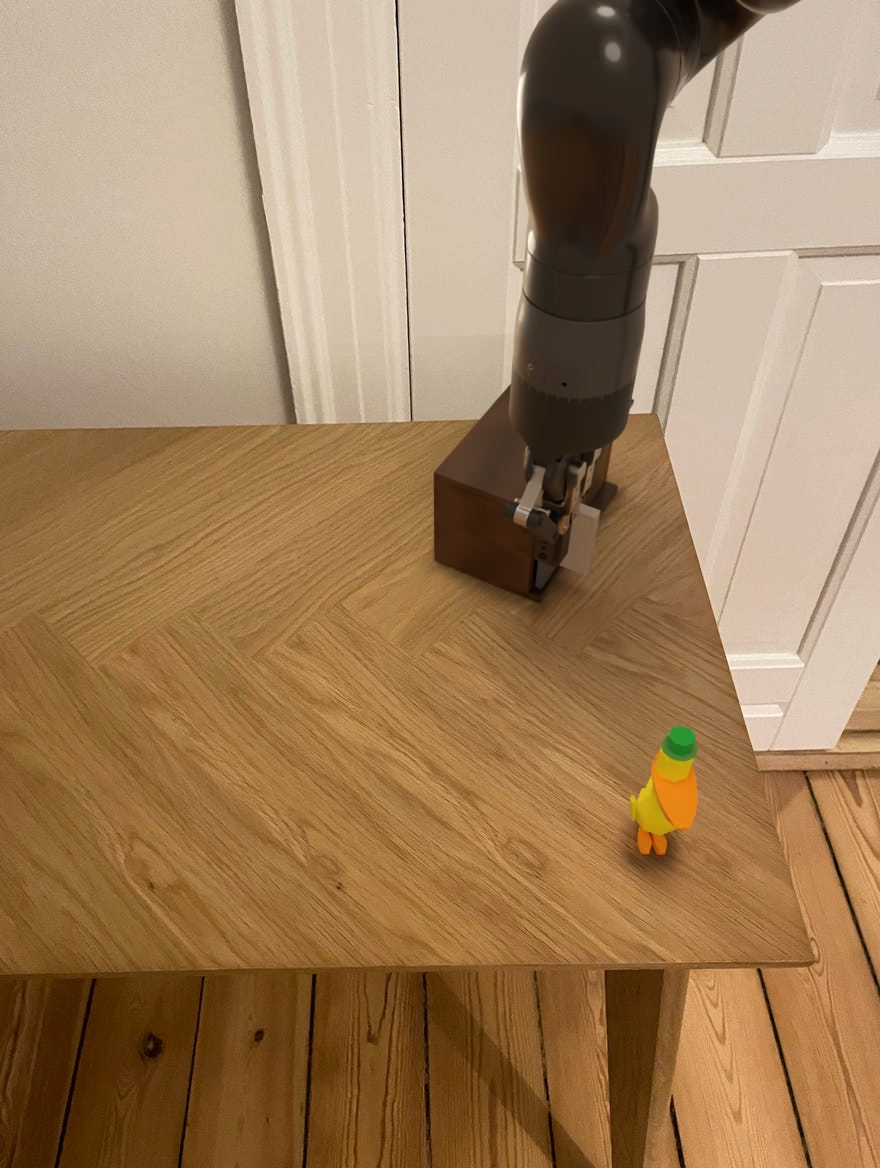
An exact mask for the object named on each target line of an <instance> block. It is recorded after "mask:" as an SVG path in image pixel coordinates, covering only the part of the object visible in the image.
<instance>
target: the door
mask: <svg viewBox="0 0 880 1168" xmlns="http://www.w3.org/2000/svg"><path fill="white" fill-rule="evenodd" d="M584 504H585V499H583V498H581V502H580V507H579V514H578V516H577V517H576V518H575V519H574V520H572V527H571V534H570V541H569V548H568V553H567V555H566V556H565V558H564V559H563V561H562V562H561V564H560V566H562V567H565V568H564V569H567V570H570V571H571V572H572V571H573V572H575V573H578V574H579V575H582V576H585V577H586V576H588V574H589V572H590V571H591V569H592V563H593V558H594V551H595V546H596V539H597V535H598V534H597V533H598V528H599V523H600V517H601V515H600V510H598V509H595V508H592V507H589V506H587V505H584ZM555 569H556V567H552V566H549V565H547V564H544V563H542V562H539V561H538V565H537V574H536V583H535V587H537V588H540V589H542V587H543V586H544V584H545V583H546V582H547V580H548V579H549V577H550V576H551V574H552V573H553V571H554V570H555Z"/></svg>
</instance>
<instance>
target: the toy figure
mask: <svg viewBox="0 0 880 1168" xmlns="http://www.w3.org/2000/svg"><path fill="white" fill-rule="evenodd" d="M696 737H697V735H696V733H694V731H693V730H692V729H691V728H690V727H686V726H684V725H677V726H674V727H671V728H670V731H669V734H667V735H666V736H664V737H663V739H662V740H661V743H660V745H661V747H660V749H659V751H657V752H656V755H655V757H654V760H653V763H652V765H651V767H650V777H649V780H648V781H647V784H646V786H645V787H643V788H641V789H640V792H639V795H638V797H637V798H636V796H635V795H633V794H632V795H630V796H629V801H628V805H629V813H630V817H631V820H632V822H633V824H634V822H635V820H636V822H637V824H638V825H639V827H638V829H637V840H636V844H637V849H638V850H639V852H640V855H649V854H650V852H651V849H652V848H653V850H654V852H655V853H656V855H657V856H661V855H662V856H663V855H664V856H665V854H666V853H667V852H666V851H667V845H668V840H667V838H666V836H665V834H667V833H670V832H673V831H675V830H678V831H680V832H685V831H687V830H690V829H691V827H692V824H693V822H694V820H695V818H696V815H697V810H698V804H699V797H698V795H699V794H698V782H697V777H696V773H695V768H694V766H693V763H694V760H695V757H696V756H697V754H698V751H699V747H698V744H697V742H696V741H695V740H696ZM650 833H651V834H650Z"/></svg>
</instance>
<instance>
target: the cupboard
mask: <svg viewBox="0 0 880 1168" xmlns="http://www.w3.org/2000/svg"><path fill="white" fill-rule="evenodd" d="M510 388H511V383H509V385H508V386H507V387H506V388H505V390H504V391H502V393H501V394H500V395H499V396H498V397H497V399H496V400H495V401H494V402H493V403H492V404H491V406H489V408H488V409H487V410H486V411H485V412H484V414H483V415H482V416H481V417H480V418H479V419H478V420H477V422H476V423H475V424H474V425H473V426H472V427H471V428H470V430H469V431H467V433H465V435H464V437H463V438H462V439H461V440H460V441H459V442H458V444H457V445H456V446H455V447H454V448H453V449H452V450H451V452H450V453H449V454H448V455H447V456H446V457H445V459H444V460H443V461H442V462H441V463H440V464H439V465H438V466H437V468H436V469H435V470H434V471H433V557H434V558H433V559H434V561H435V562H438V563H439V564H443V565H445V566H448V567H450V568H452V569H454V570H458V571H459V572H461V573H465V574H467V575H469V576H472V577H474V578H476V579H479V580H481V581H484V582H486V583H489V584H491V585H494V586H496V587H498V588H501V589H504V590H505V591H508V592H510V593H513V594H516V595H518V596H520V597H522V598H525V599H528V600H530V601H531V602H534V603H537V604H541V603H542V602H543V600H544V598H545V597H546V596H547V594H548V593H549V592H550V590H551V588H552V587H553V586H554V584H555V582H556V581H557V580H558V578H560V575H561V574H562V572H563V571H564V570H565V569H566V568H565V567H562V566H560V565H559V566H558V567H556V569H555V570H554V571H553V573H552V574H551V576H550V577H549V579H548V580H547V582H546V583H545V584H544V586H543V587H542V589H540V588H537V587H535V583H536V574H537V565H538V561H537V560H535V559H534V558H533V556H532V551H533V542H534V537H532V536H529V535H527V534H524V533H522V532H520V531H519V530H517V529H516V528H515V527H514V526H513V525H511V524H510V523H509V522H508V521H507V520H505V519H504V518H503V509H504V507H505V505H506V504H507V502H508V501H510V500H511V501H513V502H515V499H516V498H520V499H522V496H523V494H524V492H525V489H526V481H525V480H524V477H523V470H524V454H525V451H526V448H527V447H528V446H527V444H526V443H525V441H524V440H523V438H522V437H521V436H520V435H519V433H518V432H517V431H516V430H515V428H514V427H513V425H512V423H511V420H510V416H509V402H510ZM634 403H635V399H633V398H632V400H631V406H630V409H632V407H633V406H634ZM613 445H614V441H613V442H612V443H610V444H609V445H607V446H606V448H605V450H604V453H603V456H602V459H601V461H600V464H599V467H598V469H597V472H596V475H595V478H594V480H593V483H592V486H591V491H590V493H589V495H588V496H587V497H586V498H585V504H584V505H587V506H589V507H592V508H595V509H598V510H600V516H602V514H603V512H604V511H605V509H606V508H607V506H608V505H609V504H610V502H611V501H612V499H613V498H614V497H615V495H616V493H617V492H618V489H619V485H618V484H615V483H612V482H609V481H607V478H608V472H609V468H610V467H609V466H610V460H611V456H612V449H613Z"/></svg>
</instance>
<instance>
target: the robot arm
mask: <svg viewBox="0 0 880 1168" xmlns="http://www.w3.org/2000/svg"><path fill="white" fill-rule="evenodd" d="M800 2H802V0H557V1H555V2H554V3H553V4H552V5H551V6H550V7H549V8H548V10H547V11H546V12H545V13H544V14H543V15H542V16H541V18H540V19H539V21H538V22H537V24H536V25H535V27H534V28H533V31H532V32H531V34H530V37H529V39H528V41H527V44H526V47H525V50H524V53H523V57H522V61H521V66H520V71H519V75H518V76H519V77H518V82H517V83H518V85H517V93H516V104H515V105H516V107H515V113H516V116H515V117H516V118H515V119H516V135H517V144H518V145H517V146H518V154H519V164H520V170H521V179H522V186H523V192H524V197H525V202H526V207H527V213H528V218H527V224H526V233H525V246H524V247H525V248H524V260H523V271H522V273H523V275H522V284H521V289H520V290H521V291H520V296H519V301H518V305H517V309H516V314H515V321H514V331H513V347H512V349H513V350H512V359H511V374H510V375H511V377H510V384H511V388H510V402H509V416H510V420H511V423H512V425H513V427H514V428H515V430H516V431H517V432H518V433H519V435H520V436H521V437H522V438H523V440H524V441H525V443H526V444H527V446H528V447H527V448H526V451H525V454H524V470H523V477H524V480H525V481H526V489H525V492H524V494H523V496H522V499H520V498H516V499H515V502H513V501H511V500H510V501H508V502H507V504H506V505H505V507H504V509H503V518H504V519H505V520H507V521H508V522H509V523H510V524H511V525H513V526H514V527H515V528H516V529H517V530H519V531H520V532H522V533H524V534H527V535H529V536H532V537H534V542H533V551H532V556H533V558H534V559H535V560H537V561H539V562H542V563H544V564H547V565H549V566H552V567H558V566H559V565H560V564H561V562H562V561H563V559H564V558H565V556H566V555H567V553H568V548H569V541H570V534H571V527H572V520H574V519H575V518H576V517H577V516H578V514H579V507H580V502H581V498H583V499H585V498H586V497H587V496H588V495H589V493H590V491H591V486H592V483H593V480H594V478H595V475H596V472H597V469H598V467H599V464H600V461H601V459H602V456H603V453H604V450H605V448H606V446H607V445H609V444H610V443H612V442H613V443H614V442H615V441H616V440H617V439H618V438H619V437H620V436H621V435H622V434H623V432H624V431H625V429H626V427H627V424H628V421H629V416H630V410H631V408H630V406H631V400H632V399H633V394H634V390H635V389H634V388H635V384H636V378H637V374H638V369H639V368H638V367H639V362H640V357H641V351H642V346H643V343H644V342H643V341H644V337H645V336H644V335H645V328H646V309H647V308H646V305H647V294H648V290H649V284H650V279H651V273H652V268H653V262H654V257H655V253H656V247H657V246H656V245H657V238H658V233H659V232H658V231H659V221H660V210H659V209H660V207H659V201H658V198H657V195H656V193H655V191H654V189H653V188H652V186H651V183H652V176H653V169H654V168H653V167H654V160H655V154H656V149H657V143H658V139H659V135H660V132H661V128H662V125H663V120H664V118H665V113H666V112H667V111H668V109H669V108H670V107H671V106H672V104H673V102H674V101H675V99H676V98H677V96H678V95H679V94H680V92H681V91H682V90H683V89H684V88H685V87H686V86H687V85H688V84H689V83H690V82H691V81H692V80H693V79H695V77H696V76H697V75H698V74H699V73H700V72H701V71H702V70H704V69H705V68H706V67H707V66H708V65H710V63H711V62H712V61H713V60H714V59H716V58H717V57H719V55H720V54H722V53H723V52H724V51H725V50H726V49H728V48H729V47H730V46H732V44H734V43H735V42H736V41H737V40H738V39H739V38H741V37H742V36H743V35H745V34H746V33H747V32H748V31H749V30H751V28H753V27H754V26H755V25H756V24H758V23H759V22H760V21H761V20H762V19H763V18H765V17H766V16H767V15H773V14H778V13H781V12H784V11H786V10H788V9H790V8H792V7H793V6H795V5H796V4H799V3H800Z"/></svg>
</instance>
